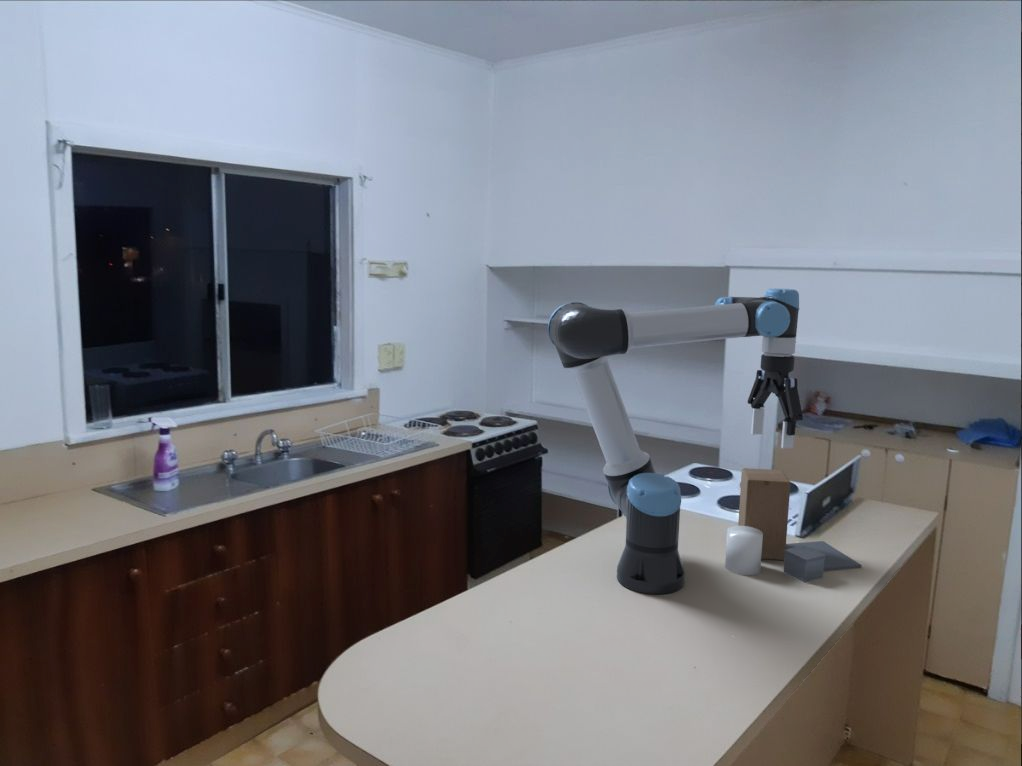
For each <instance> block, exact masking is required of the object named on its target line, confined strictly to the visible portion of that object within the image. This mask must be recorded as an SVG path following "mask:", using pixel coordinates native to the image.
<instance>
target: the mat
mask: <svg viewBox="0 0 1022 766" xmlns="http://www.w3.org/2000/svg"><path fill="white" fill-rule="evenodd" d="M802 545H805V546H807V547H810V548H812V549H814V550H816V551H819V552H821V553H823V554H825V555H826V558H825V559H824V570H823V572H824V571H834V570H847V569H857V568H858V569H859V568H860V569H861V568H862V564H860V563H859V562H857V561H856V560H854V559H852V558H851V557H850V556H848V555H846V554H845V553H843V552H842V551H840V550H838V549H836V548H835V547H833V546H832V545H830V544H829V543H827V542H825V540H824V541H823V540H819V541H805V542H793V543H786V549H789V548H793V547H797V546H802Z"/></svg>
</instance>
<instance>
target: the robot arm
mask: <svg viewBox="0 0 1022 766" xmlns="http://www.w3.org/2000/svg"><path fill="white" fill-rule="evenodd" d="M799 311H800V293H799V291H798V290H796V289H791V288H768V289H767V290H766V291H765V294H764V296H761V297H753V296H752V297H751V296H750V297H748V296H725V297H719V298H717V300H716V302H715V303H714V305H705V306H704V305H703V306H694V307H682V308H671V309H661V310H660V309H659V310H647V311H637V312H627V311H626V310H625V309H623V308H619V309H605V308H604V309H603V308H602V309H601V308H596V307H592V306H589V305H588V304H586V303H583V302H578V301H574V302H573V301H572V302H568V303H565V304H562V305H560V306H559V307H557V308H556V309H555V310H554V311H553V312H552V314H551V315H550V317H549V320H548V324H547V334H548V337H549V340H550V342H551V343H552V344H553V346H555V349H556V352H557V353H558V354H557V355H558V356H559V359H560V361H561V363H562V365H561V366H563V369H565V370H567V371H569V372H571V373H572V375H573V378H574V380H575V382H576V385H577V388H578V391H579V394H580V396H581V400H582V401H583V403H584V408H585V409H586V412H587V414H588V417H589V420H590V422H591V425H592V428H593V430H594V433H595V435H596V438H597V441H598V444H599V446H600V449H601V451H602V454H603V457H604V459H605V465H604V466H603V468H602V472H603V475H604V477H605V480H606V482H607V484H606V485H607V491H608V495H609V497H610V499H611V501H612V502H613V503H614V505H615V506H617V508H618V509H619V510H620V511H621V513H622V514H623V516H624V517H625V518H626V522H625V523H626V525H625V527H626V528H625V546H624V548H623V551H622V554H621V557H620V558H619V561H618V564H617V567H616V579H617V582H619V583H620V585H622V586H623V587H625V588H627V589H629V590H630V591H634V592H638V593H643V594H649V595H664V594H669V593H670V594H671V593H675V592H677V591H679V590H680V589H682V588H683V587H684V585H685V578H686V577H685V573H686V572H685V570H684V566H683V562H682V559H681V555H680V552H679V551H680V550H679V538H680V537H679V535H680V519H681V518H680V517H681V505H682V496H681V495H682V494H681V487H680V485H679V483H678V482H677V481H676V480H675V479H673V478H672V477H670V476H665V475H664V474H662V473H657V472H656V470H655V467H654V465H653V462H652V459H651V457H650V454H649V453H647V452H645V451H643V450H641V449H640V445H639V443H638V440H637V438H636V435H635V431H634V430H633V426H632V423H631V420H630V419H629V416H628V412H627V410H626V408H625V404H624V403H623V399H622V397H621V394H620V392H619V388H618V386H617V383H616V379H615V378H614V375H613V372H612V369H611V366H610V363H609V362H608V358H609V357H611V356H616V355H617V356H619V355H625V354H628V353H629V351H630V350H631V349H637V348H638V349H639V348H646V347H657V346H659V347H660V346H666V345H667V346H668V345H677V344H686V343H687V344H688V343H697V342H707V341H708V342H709V341H714V340H715V341H718V340H726V339H727V340H729V339H736V338H750V337H760V336H761V337H762V341H761V343H762V344H761V352H762V354H761V356H760V357H761V358H760V369H757V370H756V373H755V374H756V376H755V380H754V383H753V386H752V387H751V390H750V393H749V396H748V399H747V404H748V405H749V404H750V407H751V408H752V412H751V427H750V434H751V435H752V436H753V435H763V430H764V415H765V404H766V401H767V400H768V398H769V397H770V395H771V394H774V395H775V397H777V398H778V401H779V404H780V408H781V410H782V413H783V416H784V419H783V421H782V429H781V430H782V432H781V443H780V446H781V447H780V448H781V449H783V450H784V449H794V443H795V435H796V426H797V422H799V421H803V420H804V415H803V410H802V407H801V401H800V396H799V390H798V389H799V388H798V378H796V377H795V378H794V377H793V378H790V377H789V374H790V373H791V372H793V371H794V370H795V369H794V368H795V360H796V359H795V356H794V355H793V354H795V353H796V343H797V332H798V330H797V329H798V320H799Z"/></svg>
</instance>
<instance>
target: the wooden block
mask: <svg viewBox="0 0 1022 766" xmlns="http://www.w3.org/2000/svg"><path fill="white" fill-rule="evenodd" d="M740 476H741V478H740V479H741V480H740V490H739V491H740V492H739V508H738V523H737V526H748V527H753V528H756V529H758V530H760V531H761V532H762V533H763V541H762V555H761V560H772V561H773V560H775V561H776V560H777V561H785V553H784V550H785V549H786V544H787V536H788V535H787V534H788V523H789V508H790V497H791V496H790V494H791V480H790V479H789V478H788V476H787V475H786V473H785V472H784V471H783V470H782V469H769V468H768V469H766V468H765V469H764V468H748V467H747V468H745V467H743V468H742V469H741V475H740Z"/></svg>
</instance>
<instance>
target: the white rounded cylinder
mask: <svg viewBox="0 0 1022 766" xmlns="http://www.w3.org/2000/svg"><path fill="white" fill-rule="evenodd" d="M762 541H763V533H762V532H761V531H760V530H758V529H756V528H753V527H748V526H738V525H733V526H729V527H728V528H727V530H726V543H725V544H726V545H725V560H724V561H725V563H724V567H725V569H726V570H727V571H729V572H731V573H734V574H735V575H736V574H737V575H741V576H755V575H758V574H759V573H761V570H762V569H761V568H762V567H761V566H762V559H761V555H762Z"/></svg>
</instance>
